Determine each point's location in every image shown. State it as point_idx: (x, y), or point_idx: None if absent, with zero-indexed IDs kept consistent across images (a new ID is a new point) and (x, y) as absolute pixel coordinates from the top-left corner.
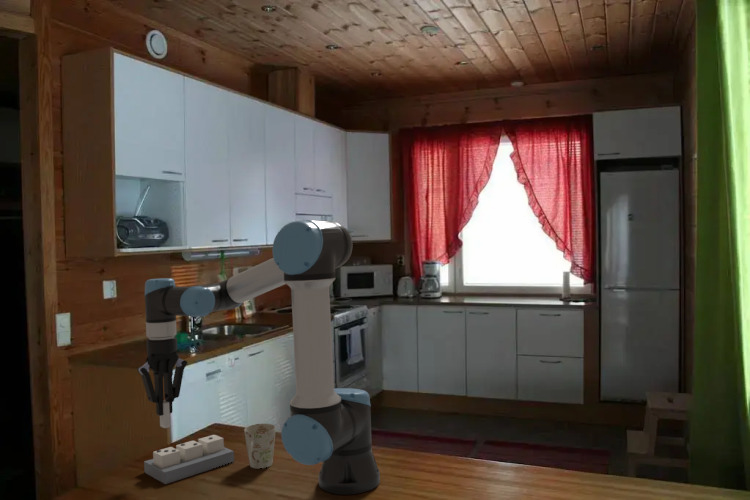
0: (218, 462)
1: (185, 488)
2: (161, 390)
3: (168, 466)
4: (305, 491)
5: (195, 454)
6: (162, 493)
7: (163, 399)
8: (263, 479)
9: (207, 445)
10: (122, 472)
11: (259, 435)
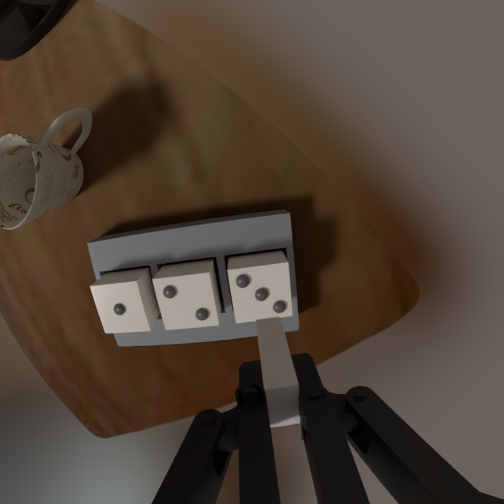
0: (134, 232)
1: (255, 148)
2: (326, 446)
3: (264, 253)
4: (86, 5)
5: (180, 268)
6: (309, 159)
7: (303, 402)
8: (97, 87)
9: (138, 278)
10: (326, 345)
11: (25, 135)
